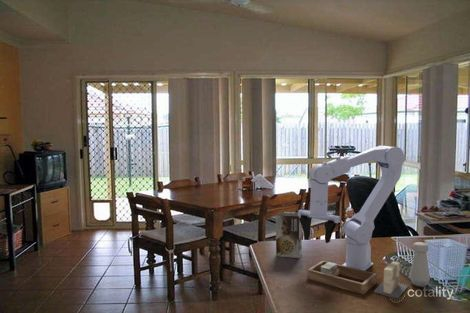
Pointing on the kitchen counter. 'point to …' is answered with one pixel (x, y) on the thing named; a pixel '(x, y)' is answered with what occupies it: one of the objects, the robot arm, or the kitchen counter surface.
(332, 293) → the kitchen counter surface
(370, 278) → the tray
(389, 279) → the cream flat block
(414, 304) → the kitchen counter surface
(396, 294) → the rubber mat
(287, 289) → the kitchen counter surface
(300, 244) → the coffee box
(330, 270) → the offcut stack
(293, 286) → the kitchen counter surface
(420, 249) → the salt shaker
